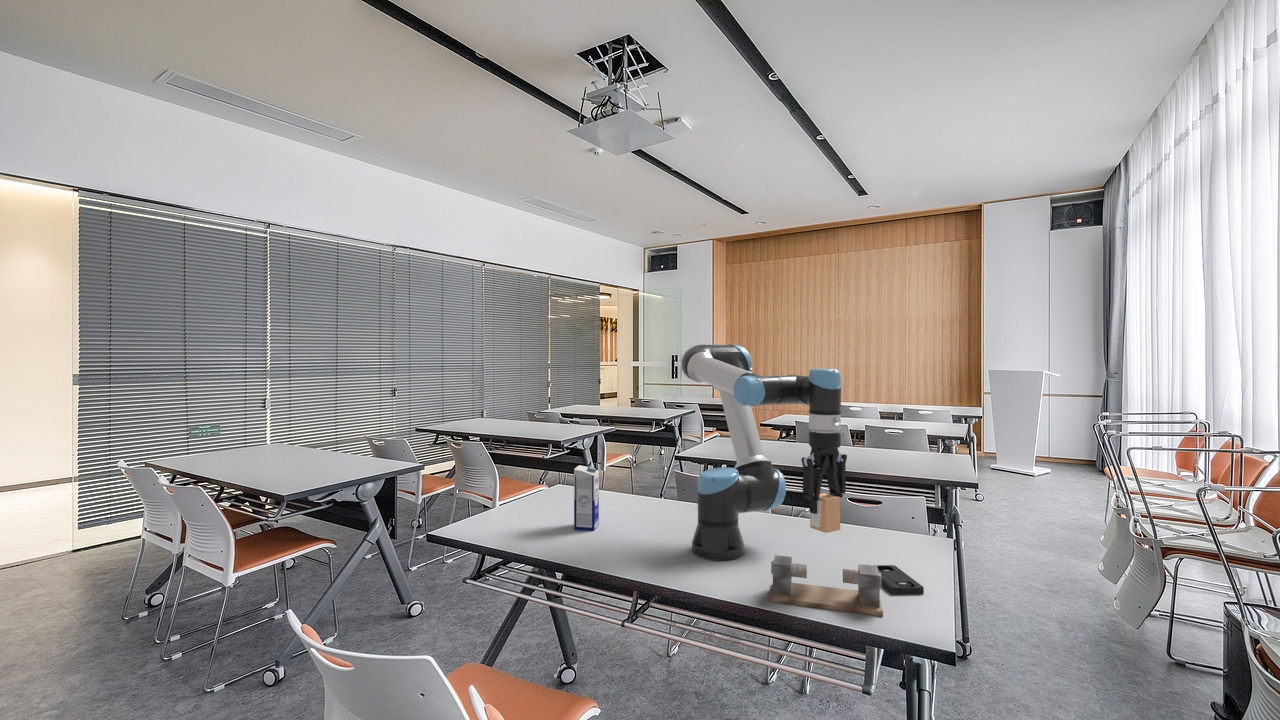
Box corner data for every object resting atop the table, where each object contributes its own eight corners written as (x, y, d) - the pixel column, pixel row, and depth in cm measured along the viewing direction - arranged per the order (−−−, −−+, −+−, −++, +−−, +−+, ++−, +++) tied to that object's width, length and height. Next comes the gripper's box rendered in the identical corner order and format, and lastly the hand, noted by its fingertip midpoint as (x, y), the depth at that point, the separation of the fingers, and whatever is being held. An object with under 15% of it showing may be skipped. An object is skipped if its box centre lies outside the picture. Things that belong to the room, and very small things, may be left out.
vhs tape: (924, 595, 132) (924, 587, 132) (891, 596, 132) (891, 587, 132) (894, 572, 146) (894, 564, 146) (864, 572, 146) (864, 565, 146)
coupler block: (825, 532, 135) (825, 499, 135) (810, 527, 139) (810, 495, 139) (840, 529, 137) (840, 497, 137) (824, 524, 141) (824, 493, 141)
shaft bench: (769, 601, 128) (769, 566, 128) (773, 584, 137) (773, 552, 137) (883, 616, 120) (883, 579, 120) (878, 597, 130) (878, 563, 130)
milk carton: (579, 523, 187) (579, 464, 187) (598, 524, 186) (598, 464, 186) (573, 530, 180) (573, 468, 180) (594, 531, 179) (594, 469, 179)
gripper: (809, 435, 130) (809, 534, 131) (862, 430, 139) (861, 523, 139) (786, 431, 137) (786, 525, 137) (838, 427, 146) (837, 515, 146)
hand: (824, 524), depth 138 cm, fingers closed on coupler block, 5 cm apart
